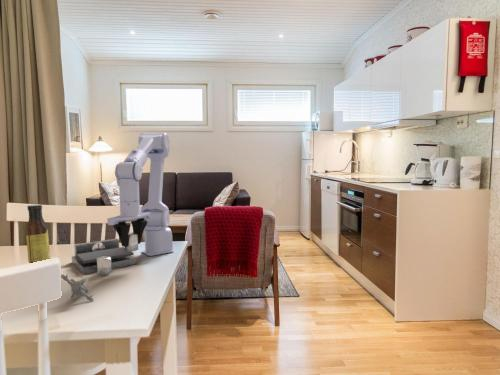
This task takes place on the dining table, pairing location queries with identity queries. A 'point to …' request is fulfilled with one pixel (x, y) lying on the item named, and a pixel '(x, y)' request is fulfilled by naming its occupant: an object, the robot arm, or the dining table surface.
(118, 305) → the dining table surface
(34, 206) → the sauce bottle
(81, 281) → the grey piece
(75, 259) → the scale
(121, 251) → the pan
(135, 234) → the steel spacer
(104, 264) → the steel spacer
